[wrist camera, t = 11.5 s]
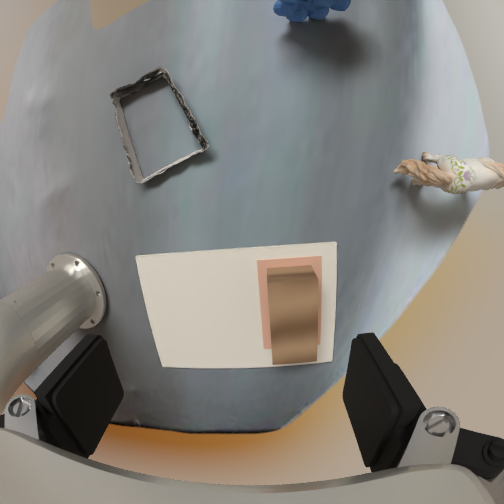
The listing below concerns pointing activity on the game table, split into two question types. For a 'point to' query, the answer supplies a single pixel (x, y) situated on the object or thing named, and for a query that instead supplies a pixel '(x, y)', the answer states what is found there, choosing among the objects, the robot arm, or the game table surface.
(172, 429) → the game table surface
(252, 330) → the rubber mat
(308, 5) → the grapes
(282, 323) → the walnut block
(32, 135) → the game table surface
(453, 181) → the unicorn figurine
